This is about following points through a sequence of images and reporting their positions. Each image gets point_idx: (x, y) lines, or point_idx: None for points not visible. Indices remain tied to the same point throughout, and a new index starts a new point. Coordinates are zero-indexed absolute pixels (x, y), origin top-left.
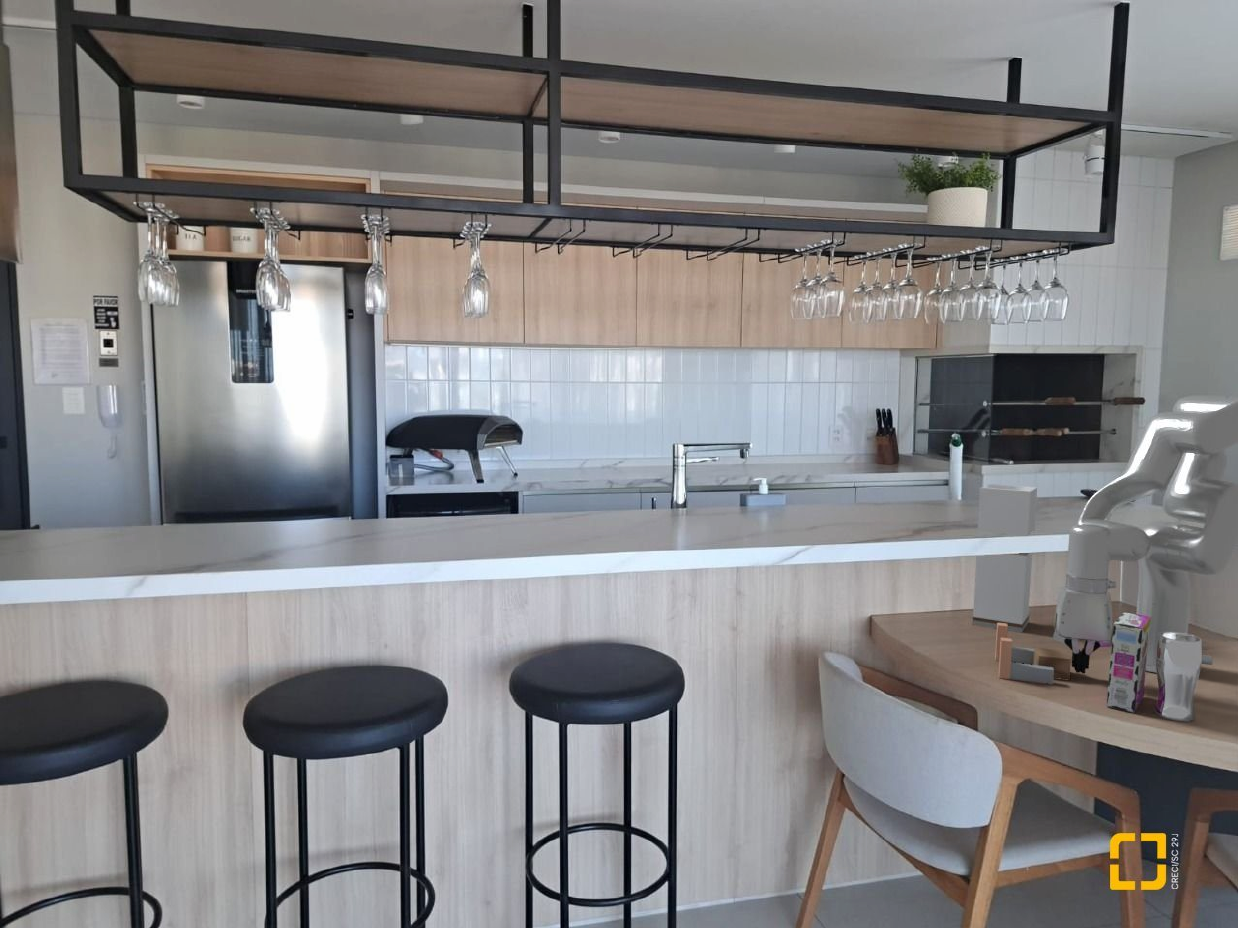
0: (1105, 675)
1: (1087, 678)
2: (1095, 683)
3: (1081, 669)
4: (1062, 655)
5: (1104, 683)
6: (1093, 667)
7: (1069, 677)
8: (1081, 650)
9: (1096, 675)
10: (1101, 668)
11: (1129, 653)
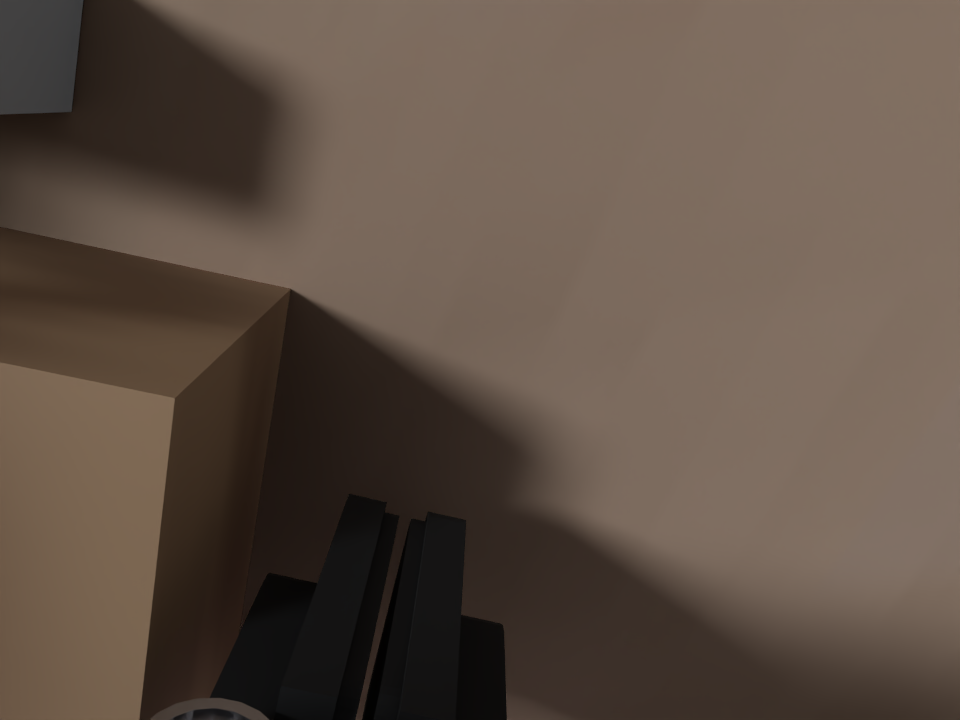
0: (815, 407)
1: (497, 553)
2: (516, 704)
3: (364, 711)
4: (21, 716)
5: (629, 692)
6: (841, 46)
7: (225, 662)
8: (403, 712)
9: (682, 423)
10: (949, 81)
11: None
